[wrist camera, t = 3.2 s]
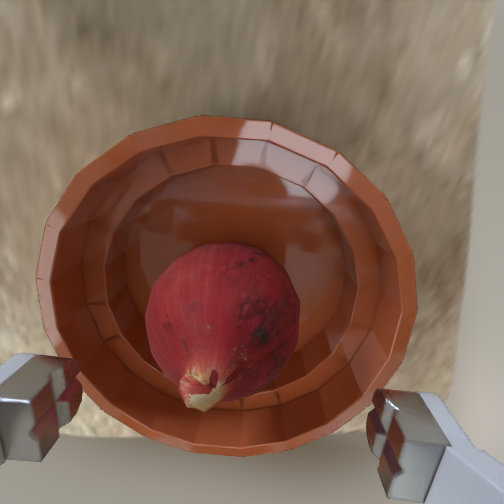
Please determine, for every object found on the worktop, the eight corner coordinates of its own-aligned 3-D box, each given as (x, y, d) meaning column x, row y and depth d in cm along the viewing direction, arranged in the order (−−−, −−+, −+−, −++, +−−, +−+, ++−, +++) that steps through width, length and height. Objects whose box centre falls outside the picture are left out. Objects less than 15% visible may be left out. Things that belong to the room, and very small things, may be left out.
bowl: (109, 372, 18) (62, 441, 14) (85, 113, 14) (3, 98, 9) (346, 393, 18) (371, 469, 14) (404, 140, 13) (469, 137, 9)
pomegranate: (262, 201, 14) (261, 263, 7) (308, 302, 16) (351, 445, 8) (155, 250, 15) (48, 354, 8) (210, 341, 17) (166, 500, 9)
